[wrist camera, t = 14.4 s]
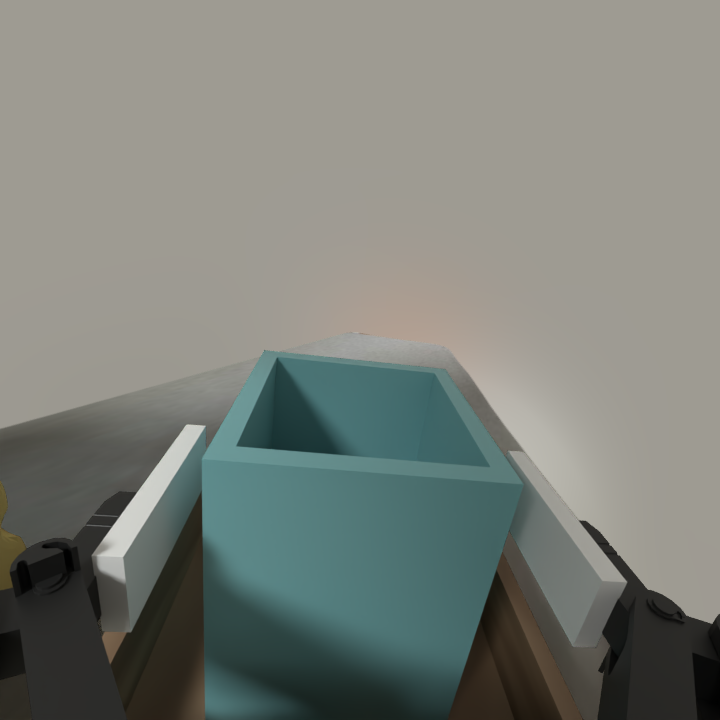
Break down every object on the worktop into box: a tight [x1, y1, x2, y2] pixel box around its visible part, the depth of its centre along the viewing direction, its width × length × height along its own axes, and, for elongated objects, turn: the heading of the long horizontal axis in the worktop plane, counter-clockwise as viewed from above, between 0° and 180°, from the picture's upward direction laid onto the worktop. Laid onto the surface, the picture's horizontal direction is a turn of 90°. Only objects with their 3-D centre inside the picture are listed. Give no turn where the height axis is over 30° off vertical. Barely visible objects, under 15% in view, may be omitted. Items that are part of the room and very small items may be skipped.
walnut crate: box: [102, 491, 583, 720], centre depth 20 cm, size 18×18×4 cm
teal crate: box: [202, 350, 524, 720], centre depth 19 cm, size 10×10×12 cm
